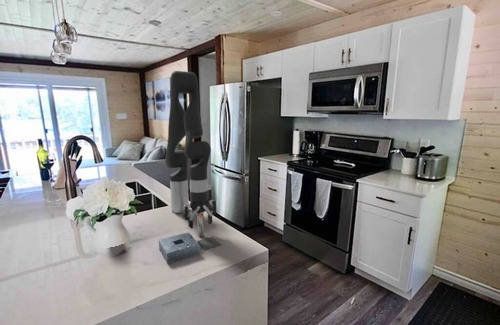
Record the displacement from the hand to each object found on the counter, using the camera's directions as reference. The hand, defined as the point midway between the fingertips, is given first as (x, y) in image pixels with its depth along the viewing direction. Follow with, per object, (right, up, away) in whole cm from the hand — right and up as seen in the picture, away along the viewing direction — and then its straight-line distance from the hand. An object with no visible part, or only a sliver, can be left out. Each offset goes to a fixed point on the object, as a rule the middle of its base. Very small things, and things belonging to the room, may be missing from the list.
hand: (200, 225), depth 112 cm
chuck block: (-6, -7, -12) cm, 15 cm away
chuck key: (0, -5, +1) cm, 5 cm away
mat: (+5, -6, -5) cm, 9 cm away
